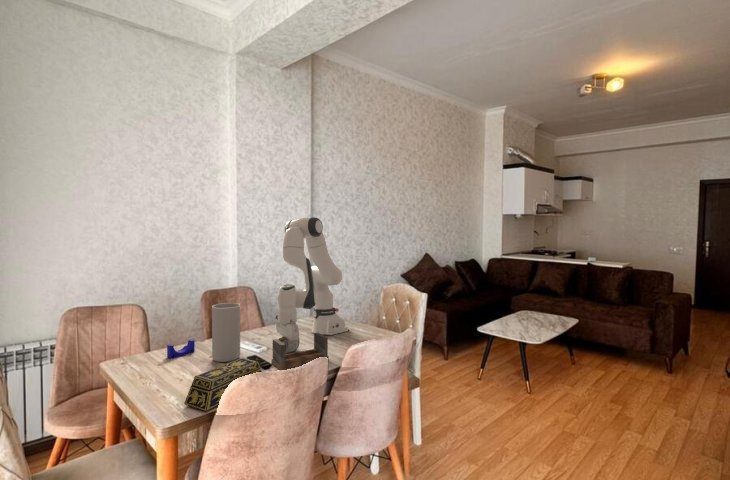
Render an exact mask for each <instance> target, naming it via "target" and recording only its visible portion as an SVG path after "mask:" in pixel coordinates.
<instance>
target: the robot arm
mask: <svg viewBox="0 0 730 480" xmlns="http://www.w3.org/2000/svg"><path fill="white" fill-rule="evenodd" d="M323 229H324V226H323V222H322V221H321V220H320V218H319V217H313V216H312V217H301V218H298V219H297V218H296V219H291V220H289V221H287V222H286V223H285V225H284V237H283V244H282V258H283V260H284V261H285V262H286V263H287V264H288V265H290V266H292V267H294V268H297V269H299V270H301V271H302V272H303V274H304V275H303V276H304V280H305V281H304V282H305V288H303V289H302V288H301V289H300V288H298V289H297V288H296V286H295V285H294V284H290V283H288V284H283V285H281V286H280V287H279V290H278V291H279V293H278V297H277V298H278V314H275V316H274V317H275V318H274V319H275V327H276V333H277V334H279V335H281V337H285V338H287V339H288V343H287V347H289V348H290V347H292V342H294V341H298V340H299V341H300V331H299V329H300V328H299V325H298V324H297V319H298V318H297V317H298V316H297V313H298V312H297V311H298V310H297V309H306V310H311V309H312V308H313V313H312V314H313V315H312V316H313V323H312V328H311V333H312V334H314V333H317V332H318V333H320V334H322V335H324V336H333V335H336V334H341V333H345V332H348V330H349V331H350V329H349V327H348V326H347V325H346V323H345V319H344V318H343V317H341V316H340V315H339V314H337V313H338V312H339V310H340V309H339V308H337V307H334V295H333V294H334V293H333V292H332V291H331V290H330V288H329V286H337V285H339V284H340V283H341V282H342V280H343V272H342V270H341V269H339V268H338V267H337V266H336V264H335V263H334V261H333V259H332V258H331V256H330V253H329V250H328V246H327V242H326V238H325V236H324V233H323ZM305 245H306V248H307V252H308V256H309V258H308V257H307V256H306V254H305ZM311 262H312V263H313V264H314V265H312V264H311Z"/></svg>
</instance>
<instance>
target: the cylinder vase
mask: <svg viewBox="0 0 730 480" xmlns="http://www.w3.org/2000/svg"><path fill="white" fill-rule="evenodd" d="M211 324H212V325H211V333H212V334H211V336H212V337H211V355H212V356H211V358H212V360H213V361H214V362H218V363H229V362H233V361H235V360H238V359H240V357H241V304H240V303H237V302H236V303H235V302H221V303H217V304H213V305H211Z"/></svg>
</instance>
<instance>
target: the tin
mask: <svg viewBox="0 0 730 480" xmlns="http://www.w3.org/2000/svg"><path fill="white" fill-rule="evenodd" d="M277 339H278V340H279V341H281V342H282V343H284V344H285V354H290V353H295V352H297V350H298V348H299V347H300V339H299V340H298V341H294V342H292V347H290V348H289V347H287V343H288V339H287V338H285V337H282V336H281V337H279V338H277Z"/></svg>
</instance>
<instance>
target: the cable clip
mask: <svg viewBox="0 0 730 480" xmlns="http://www.w3.org/2000/svg"><path fill="white" fill-rule="evenodd" d="M195 346H196V345H195V340H194V339H192V338H191V339H188V340H187V344H186V345H183V347H182V348H181V349H178V350H176V349H175V346H174V345H173V344H171V343H170V344H167V345H166V355H167V356H166V358H167V357H168V359H170V360H172V359H175V358H179V357H182V355H183V356H187V355H189V354H192V353H195V351H196V350H195ZM171 358H172V359H171Z"/></svg>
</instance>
